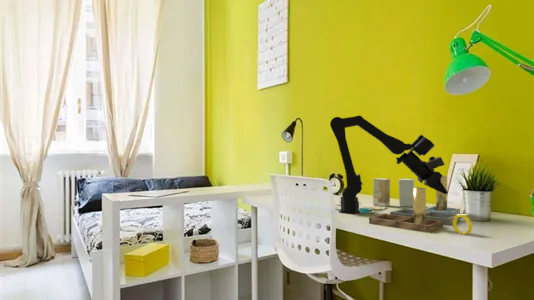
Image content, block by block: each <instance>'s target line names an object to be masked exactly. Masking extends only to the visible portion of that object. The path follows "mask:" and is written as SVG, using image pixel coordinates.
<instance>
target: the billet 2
mask: <svg viewBox="0 0 534 300" xmlns="http://www.w3.org/2000/svg"><path fill="white" fill-rule="evenodd" d="M441 183H442V184H443V186H444V187H445V189H446V190H447V191H448V176H447V175H443V176H442V177H441ZM435 206H436V210H447V208H448V193H447V194H444V193H442V192H439V191H437V190H435Z"/></svg>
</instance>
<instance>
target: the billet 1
mask: <svg viewBox="0 0 534 300" xmlns="http://www.w3.org/2000/svg"><path fill="white" fill-rule="evenodd" d="M426 208H427V188H426V187H419V186H418V187H415V186H414V188H413V207H412V209H413V223H415V224H422V225H426Z"/></svg>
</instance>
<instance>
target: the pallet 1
mask: <svg viewBox="0 0 534 300" xmlns="http://www.w3.org/2000/svg"><path fill="white" fill-rule="evenodd" d="M368 223H369V224H371V225H377V226H383V227H390V228H397V229H402V230H410V231H417V232H421V231H422V233H428V232H430V233H432V232H435V231H437V230H440V229H442V228H444V225H443V221H439V220H431V219H426V225H422V224H415V223H413V217H408V216H400V215H393V214H390V213H381V214H378V215H374V216H370V217H369V218H368Z"/></svg>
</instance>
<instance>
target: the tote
mask: <svg viewBox="0 0 534 300" xmlns="http://www.w3.org/2000/svg"><path fill="white" fill-rule="evenodd" d="M460 209H461V208H457V209H456V207H447V210H436V205H433V206H428V207H426V211H430V212H439V213H448V214H456V215H457V214H460Z"/></svg>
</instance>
